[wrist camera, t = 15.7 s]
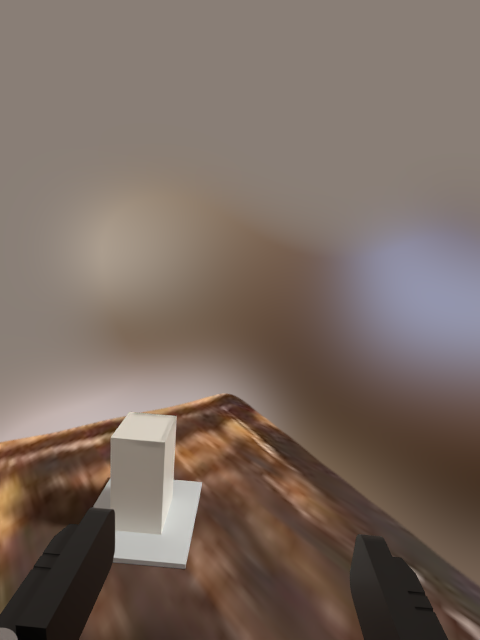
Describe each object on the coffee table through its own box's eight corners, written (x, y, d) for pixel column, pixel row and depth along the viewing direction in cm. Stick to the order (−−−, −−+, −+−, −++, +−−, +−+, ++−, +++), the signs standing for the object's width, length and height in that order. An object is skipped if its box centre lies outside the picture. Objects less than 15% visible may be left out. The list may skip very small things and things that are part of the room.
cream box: (128, 493, 45) (129, 411, 43) (172, 497, 45) (176, 416, 43) (110, 530, 39) (110, 437, 37) (161, 534, 39) (165, 442, 37)
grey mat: (112, 477, 49) (112, 474, 49) (201, 485, 49) (201, 482, 49) (65, 557, 36) (64, 553, 36) (185, 568, 36) (185, 564, 36)
